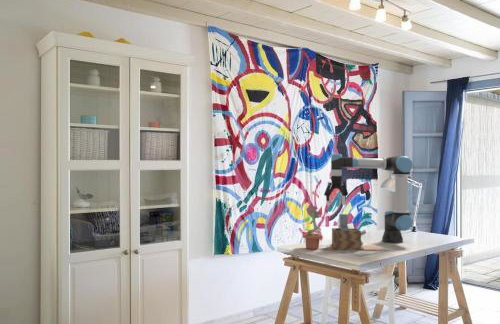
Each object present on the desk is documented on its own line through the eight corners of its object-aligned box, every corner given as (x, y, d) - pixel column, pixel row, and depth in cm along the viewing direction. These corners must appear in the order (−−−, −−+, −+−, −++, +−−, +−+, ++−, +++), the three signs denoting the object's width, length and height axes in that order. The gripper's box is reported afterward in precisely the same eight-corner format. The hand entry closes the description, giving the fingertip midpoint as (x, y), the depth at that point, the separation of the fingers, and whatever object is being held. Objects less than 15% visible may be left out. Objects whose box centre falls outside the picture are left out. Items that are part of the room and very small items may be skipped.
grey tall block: (345, 242, 309) (345, 213, 309) (348, 245, 296) (348, 215, 296) (338, 242, 309) (338, 213, 309) (340, 245, 296) (341, 215, 296)
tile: (377, 247, 308) (377, 245, 308) (382, 250, 294) (382, 249, 294) (360, 246, 309) (360, 245, 309) (364, 250, 295) (364, 249, 295)
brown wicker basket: (358, 246, 308) (359, 228, 308) (362, 250, 295) (362, 231, 295) (330, 246, 309) (330, 228, 310) (332, 249, 297) (332, 230, 297)
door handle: (346, 253, 314) (370, 240, 310) (340, 243, 315) (365, 230, 310) (346, 248, 331) (370, 236, 327) (341, 239, 332) (364, 226, 328)
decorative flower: (327, 248, 301) (327, 205, 301) (317, 251, 291) (317, 206, 291) (309, 245, 311) (309, 203, 311) (298, 248, 300) (298, 205, 301)
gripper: (346, 175, 322) (346, 204, 322) (319, 175, 310) (319, 205, 310) (353, 175, 315) (353, 204, 315) (325, 175, 303) (325, 206, 303)
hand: (336, 205), depth 312 cm, fingers open, 13 cm apart
